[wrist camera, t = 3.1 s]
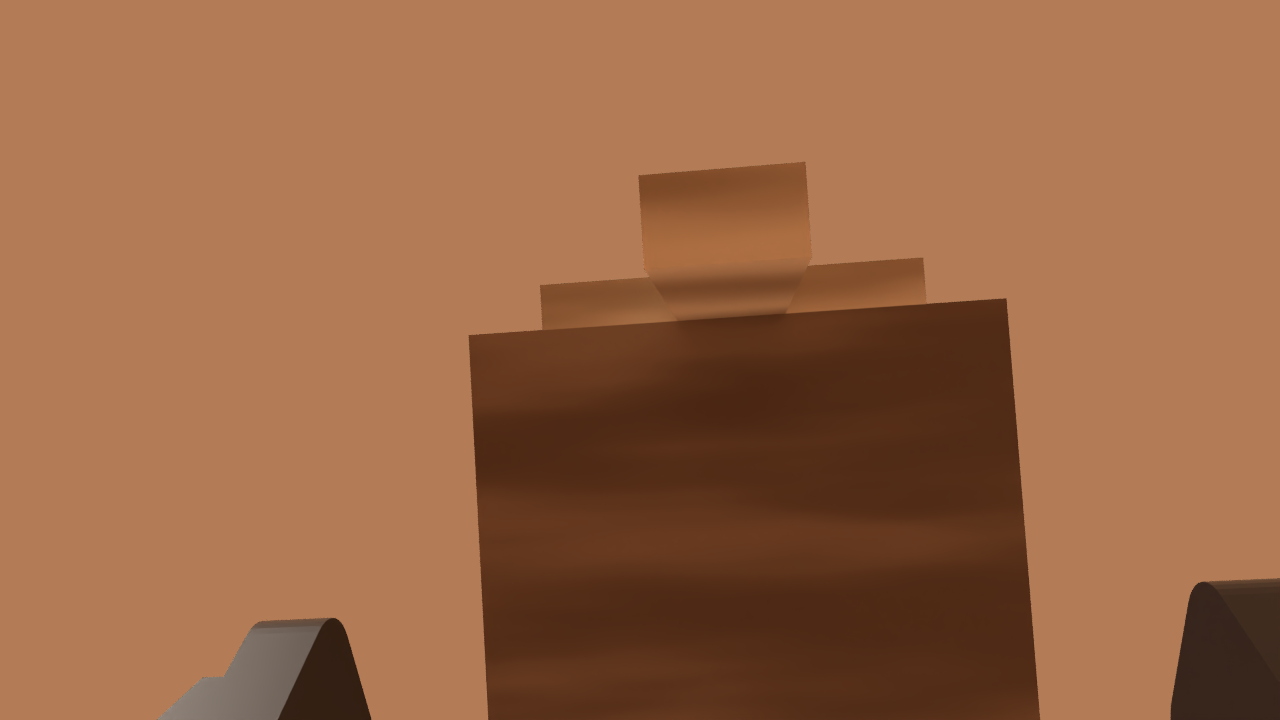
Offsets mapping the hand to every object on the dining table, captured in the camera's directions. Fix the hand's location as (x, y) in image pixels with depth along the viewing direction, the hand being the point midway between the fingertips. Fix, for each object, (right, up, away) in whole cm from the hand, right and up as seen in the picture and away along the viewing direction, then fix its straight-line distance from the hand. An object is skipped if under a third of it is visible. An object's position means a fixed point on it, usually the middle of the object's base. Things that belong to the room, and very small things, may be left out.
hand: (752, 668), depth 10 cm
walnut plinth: (+4, -28, +24) cm, 37 cm away
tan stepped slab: (+1, +4, +19) cm, 19 cm away
